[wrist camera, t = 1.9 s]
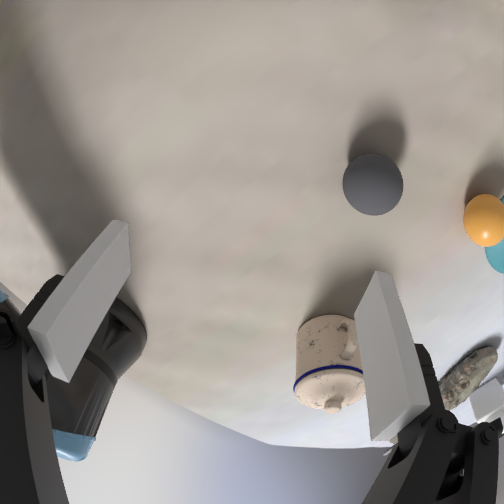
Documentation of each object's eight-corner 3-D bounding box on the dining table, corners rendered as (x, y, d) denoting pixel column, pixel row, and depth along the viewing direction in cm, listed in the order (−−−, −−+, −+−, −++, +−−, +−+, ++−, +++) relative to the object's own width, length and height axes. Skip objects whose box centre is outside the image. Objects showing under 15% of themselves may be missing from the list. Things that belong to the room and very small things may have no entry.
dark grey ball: (332, 192, 30) (339, 219, 25) (346, 139, 27) (359, 157, 22) (382, 205, 30) (398, 232, 25) (400, 155, 27) (420, 175, 22)
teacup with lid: (345, 359, 44) (351, 428, 34) (286, 349, 44) (283, 422, 34) (381, 302, 37) (401, 379, 28) (314, 288, 37) (318, 370, 27)
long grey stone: (374, 429, 61) (408, 427, 62) (376, 449, 57) (411, 446, 58) (470, 341, 40) (504, 342, 40) (480, 368, 36) (514, 366, 36)
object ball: (448, 223, 30) (468, 251, 26) (466, 179, 27) (492, 202, 22) (481, 234, 30) (502, 261, 26) (499, 193, 27) (525, 217, 22)
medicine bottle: (476, 401, 51) (488, 446, 42) (467, 393, 49) (480, 442, 39) (502, 385, 48) (516, 430, 38) (495, 376, 46) (511, 424, 36)
